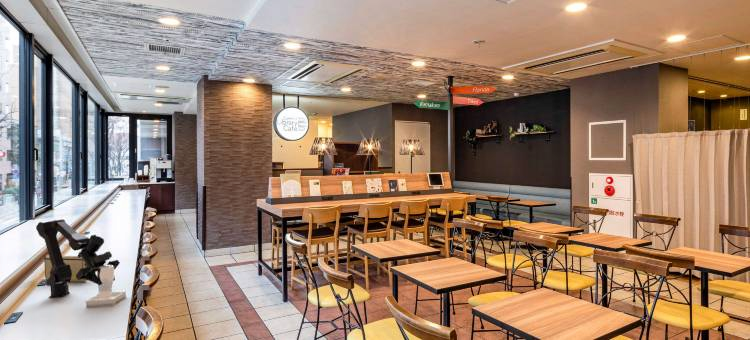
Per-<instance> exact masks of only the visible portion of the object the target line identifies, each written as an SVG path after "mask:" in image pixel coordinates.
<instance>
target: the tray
mask: <svg viewBox="0 0 750 340" xmlns="http://www.w3.org/2000/svg"><path fill="white" fill-rule="evenodd" d="M97 297H98V293H96V294H95V295H93V296H92V297H90V298H88V299H86V300H85V307H86V308H94V307H109V306H111V307H112V306H115V305H116V304H118V303H119V302H121V301H122V300H123V299H125V298H126V297H127V292H126V291H125V290H123V291H120V290H119V291H112V297H111V298H108V299H98V298H97Z"/></svg>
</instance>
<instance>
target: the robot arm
mask: <svg viewBox="0 0 750 340" xmlns="http://www.w3.org/2000/svg"><path fill="white" fill-rule="evenodd" d="M35 229H36V232H37V233H38V236H39V237H41V238H42V239H44V243H45V246H46V250H47V253H48V256H49V257H50V260H51V264H52V268H51V270H50V277H49V278H48V280H46V282H45V283H46V286H48V287H50V295H49V296H48V299H50V298H63V297H64V296H67V295H69V294H70V293H71V291H69V290H70V289H69V288H70V287H69V285H68V283H70V282H72V281H71V277H72V270H71V268H70V265H69V264H68V265H67V264H65V263H64V261H63V257H62V256H63V255H62V251H61V247H60V244H59V241H58V238H57V237H58V236H57V235H58V234H61V235H62V236H63V238H65V239H66V240H67V241H68V245H69V247H70V248H71V249H72V251H79V250H80V251H79V252H78V254H77V256H78V258H80V257H82V259H83V260H84V261H85V264H84V265H85V266H88V267H85V268H81V269H80V270H79V271H78V273H77V274H76V278H77V279H78V280H81V279H84V280H87V281H89V282H91V283H94V284H96V285H97V286H98V285H101V284H102V283H101V281H100V280H99V278H98V277H97V271H98V267H99V266H105V265H113V266H114V271H115V270H116V269H117V268H118V266H119V265H120V261H119V260H118V259H113V260H110V259H111V258H112V257H113V255H112V253H111V251H106V252H104V253H100V254H97V252H98V251H99V250H100V249H101V248H102V246H103V244H104V243H105V240H104V238H103V237H101V236H98V235H97V234H91V236H90V237H88V236H86V235H85V234H81V233H78V232H77V231H76V230H75V229H73V228H72V227H71V226H70V225H69V224H68V223H67V222H66V220H65V219H63V218H58V219H54V220H46V221H39V222H37V225H36V226H35ZM108 260H109V261H108ZM107 261H108V262H107ZM106 263H107V264H106ZM115 280H116V277H115V276H114V280H113V282H114V281H115Z"/></svg>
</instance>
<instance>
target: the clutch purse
mask: <svg viewBox="0 0 750 340" xmlns="http://www.w3.org/2000/svg"><path fill="white" fill-rule="evenodd" d="M62 257H63V261H64V263H65V264H67V265H68V264H69V265H70V268H71V270H72V277H71V281H70V282H78V283H79V282H80V283H81V282H83V283H86V282H87V281H88V280H84V279H81V280H78V279H77V278H76V274H77V273H78V271H79V270H80V269H81V268H85V267H88V266H85V265H84V264H85V261H84V260H83V259H82V257H80V258H78V255H62ZM43 259H44V276H45V280H46V281H47V280H48V278H49V277H50V270H51V268H52V264H51V260H50V257H49V255H48V254H47V255H44V256H43Z"/></svg>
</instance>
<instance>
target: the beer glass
mask: <svg viewBox="0 0 750 340" xmlns="http://www.w3.org/2000/svg"><path fill="white" fill-rule="evenodd" d="M104 265H105V266H99V267H98V271H97V272H96V275H97V277H98V278H99V280H100V281H101V283H102V284H101V285H98V284H97V286H98V293H97V294H98V297H97V298H98V299H108V298H111V297H112V292H113V289H112V288H113V284H114V281H115V280H114V277H115V270H114V266H113V265H107V264H104ZM113 280H114V281H113Z"/></svg>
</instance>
